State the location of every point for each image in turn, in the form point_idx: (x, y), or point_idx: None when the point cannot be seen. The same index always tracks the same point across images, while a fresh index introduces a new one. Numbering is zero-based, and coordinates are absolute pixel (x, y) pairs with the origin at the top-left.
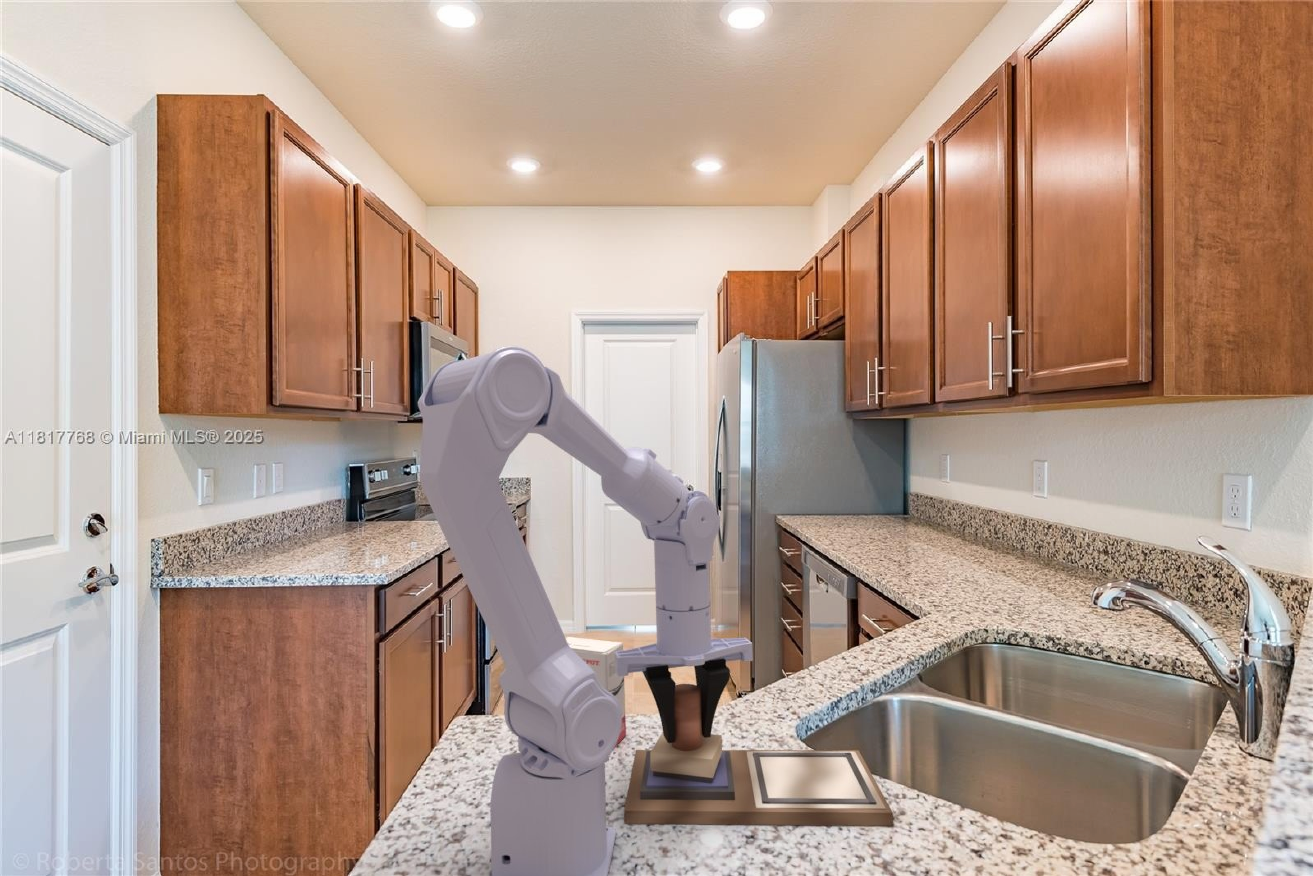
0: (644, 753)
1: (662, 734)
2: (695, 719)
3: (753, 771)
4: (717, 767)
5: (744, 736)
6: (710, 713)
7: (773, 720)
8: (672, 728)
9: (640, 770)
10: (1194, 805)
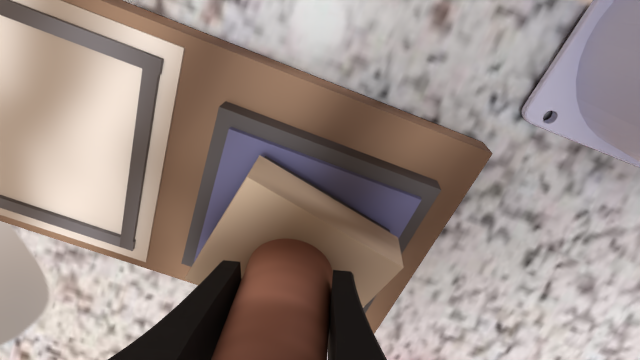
0: None
1: None
2: (254, 304)
3: (149, 189)
4: None
5: (138, 323)
6: (192, 309)
7: (69, 348)
8: (341, 297)
9: None
10: None
